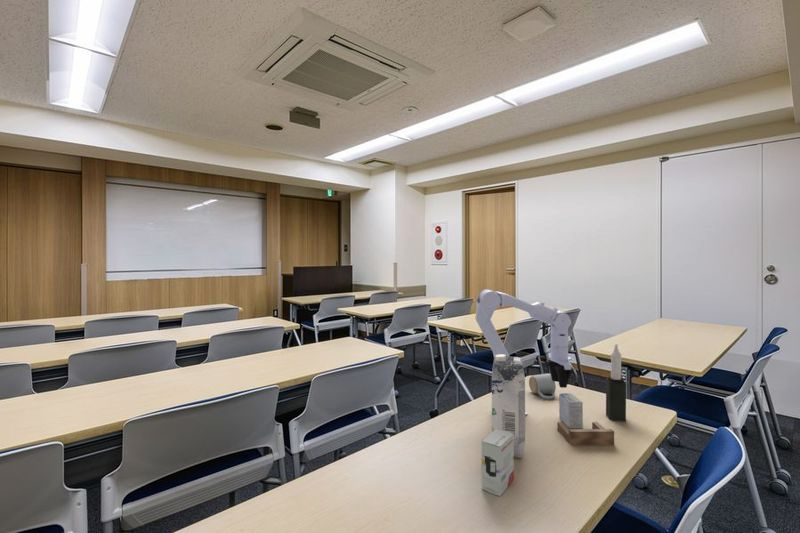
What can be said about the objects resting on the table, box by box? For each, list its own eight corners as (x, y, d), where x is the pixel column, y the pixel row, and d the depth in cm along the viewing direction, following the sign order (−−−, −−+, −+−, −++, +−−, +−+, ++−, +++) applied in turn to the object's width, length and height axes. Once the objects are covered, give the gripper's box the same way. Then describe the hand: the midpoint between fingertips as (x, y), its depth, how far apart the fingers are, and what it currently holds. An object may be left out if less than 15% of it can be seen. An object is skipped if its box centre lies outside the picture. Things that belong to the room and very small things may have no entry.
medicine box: (583, 429, 118) (583, 402, 118) (569, 429, 118) (569, 402, 118) (572, 418, 126) (572, 392, 126) (558, 418, 126) (558, 392, 126)
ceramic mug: (527, 390, 152) (527, 371, 152) (546, 389, 153) (546, 370, 152) (540, 400, 141) (540, 380, 141) (560, 399, 142) (560, 379, 142)
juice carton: (523, 442, 110) (523, 351, 109) (525, 461, 100) (525, 361, 99) (492, 438, 112) (492, 349, 111) (491, 457, 102) (491, 359, 101)
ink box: (496, 472, 95) (496, 426, 95) (514, 479, 92) (514, 432, 92) (480, 489, 88) (480, 440, 88) (500, 497, 85) (499, 446, 85)
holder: (570, 445, 108) (571, 431, 108) (557, 429, 117) (557, 417, 117) (614, 445, 108) (614, 431, 108) (597, 429, 117) (597, 417, 117)
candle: (627, 421, 123) (627, 346, 122) (610, 420, 124) (610, 345, 123) (621, 415, 128) (621, 342, 127) (604, 413, 129) (605, 342, 128)
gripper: (580, 350, 123) (580, 391, 123) (561, 340, 137) (561, 377, 138) (559, 350, 123) (559, 391, 123) (542, 340, 137) (542, 377, 138)
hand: (559, 383), depth 131 cm, fingers open, 6 cm apart
